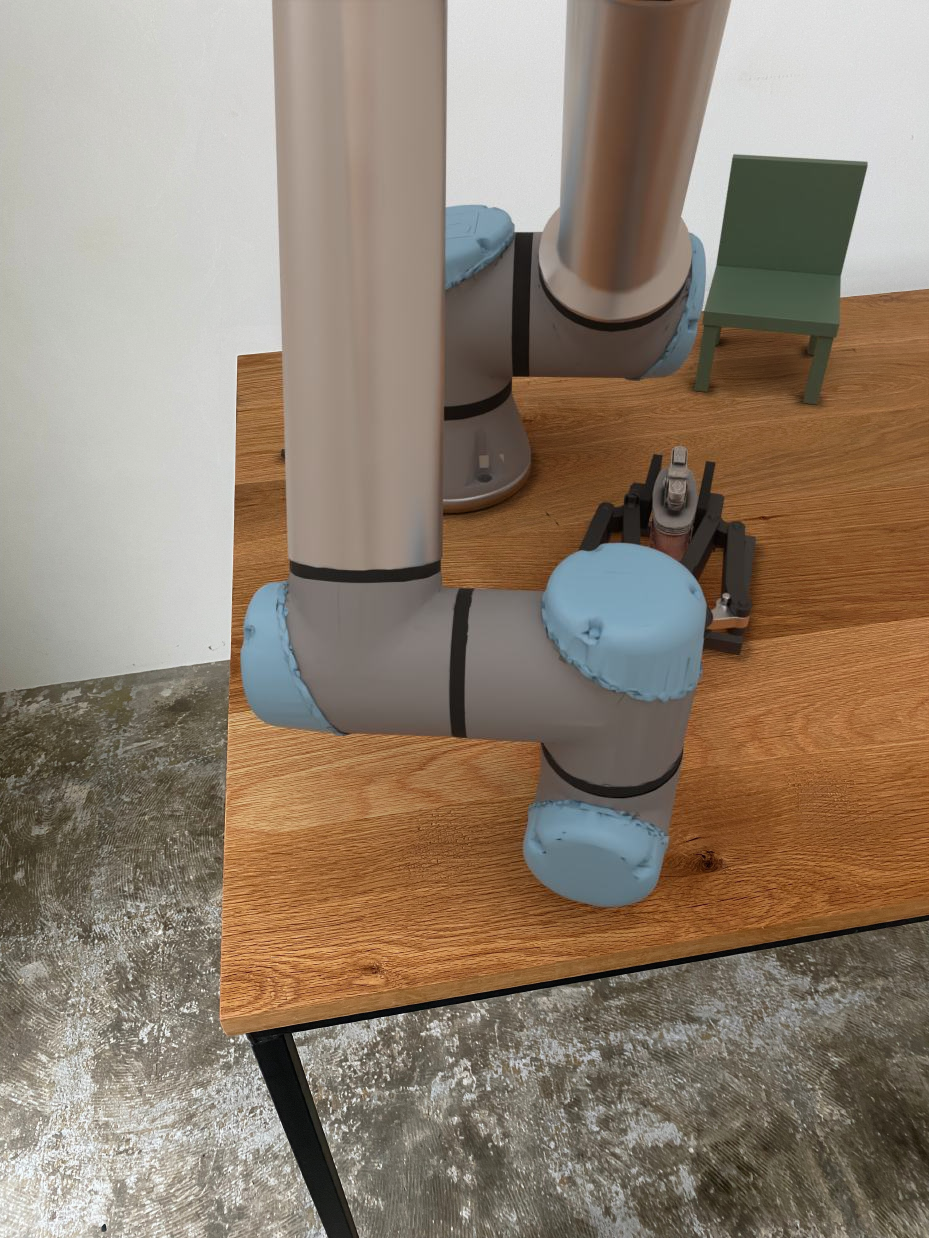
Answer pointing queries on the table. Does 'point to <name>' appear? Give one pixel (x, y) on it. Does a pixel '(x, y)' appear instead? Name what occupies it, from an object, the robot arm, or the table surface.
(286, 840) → the table surface
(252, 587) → the table surface
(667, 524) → the lighter
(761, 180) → the chair
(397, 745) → the table surface
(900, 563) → the table surface
